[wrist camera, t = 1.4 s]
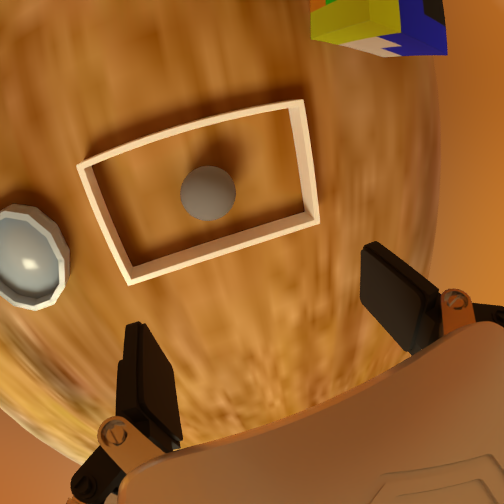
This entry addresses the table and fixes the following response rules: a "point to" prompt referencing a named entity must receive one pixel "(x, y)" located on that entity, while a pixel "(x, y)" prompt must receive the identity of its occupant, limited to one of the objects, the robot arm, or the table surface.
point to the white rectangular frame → (224, 243)
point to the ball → (208, 193)
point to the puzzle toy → (381, 26)
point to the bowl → (31, 258)
